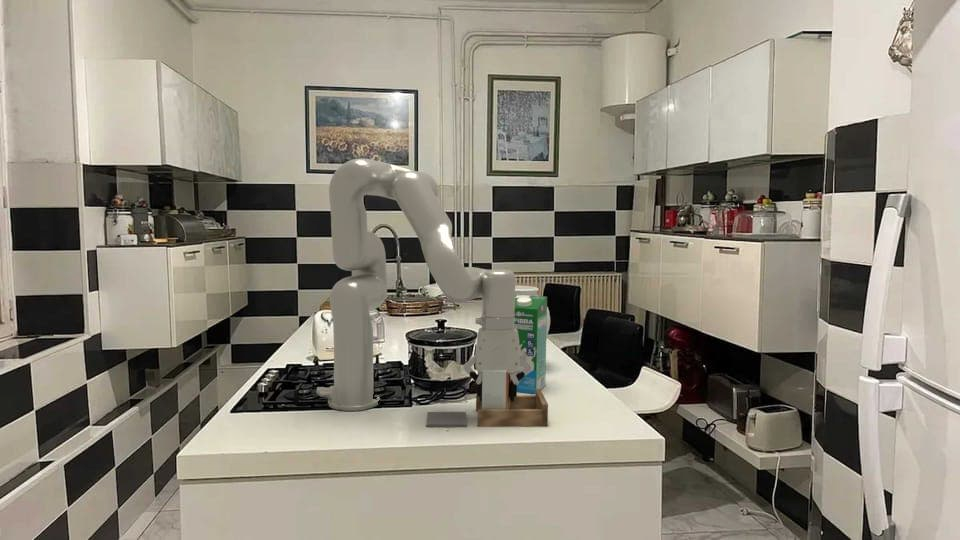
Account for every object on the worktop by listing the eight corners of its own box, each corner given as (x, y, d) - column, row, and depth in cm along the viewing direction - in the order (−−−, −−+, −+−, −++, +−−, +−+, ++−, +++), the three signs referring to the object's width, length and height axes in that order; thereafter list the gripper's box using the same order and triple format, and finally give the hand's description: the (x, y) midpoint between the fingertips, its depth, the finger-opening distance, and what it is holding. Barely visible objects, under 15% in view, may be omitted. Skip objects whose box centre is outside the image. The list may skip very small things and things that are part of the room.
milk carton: (503, 390, 173) (504, 298, 170) (514, 382, 181) (515, 294, 179) (535, 394, 169) (537, 300, 167) (545, 385, 178) (547, 296, 175)
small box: (505, 417, 145) (506, 371, 144) (481, 415, 146) (482, 370, 145) (510, 407, 153) (511, 363, 152) (487, 405, 154) (488, 362, 153)
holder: (477, 426, 143) (478, 404, 143) (475, 409, 156) (476, 389, 155) (547, 426, 144) (547, 404, 144) (540, 409, 156) (540, 389, 156)
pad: (426, 427, 143) (426, 424, 143) (427, 414, 152) (427, 411, 152) (466, 426, 143) (466, 424, 143) (465, 414, 152) (465, 411, 152)
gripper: (460, 326, 144) (459, 404, 145) (537, 326, 145) (535, 404, 146) (460, 320, 151) (459, 394, 153) (533, 321, 152) (531, 395, 154)
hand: (496, 398), depth 150 cm, fingers closed on small box, 6 cm apart
